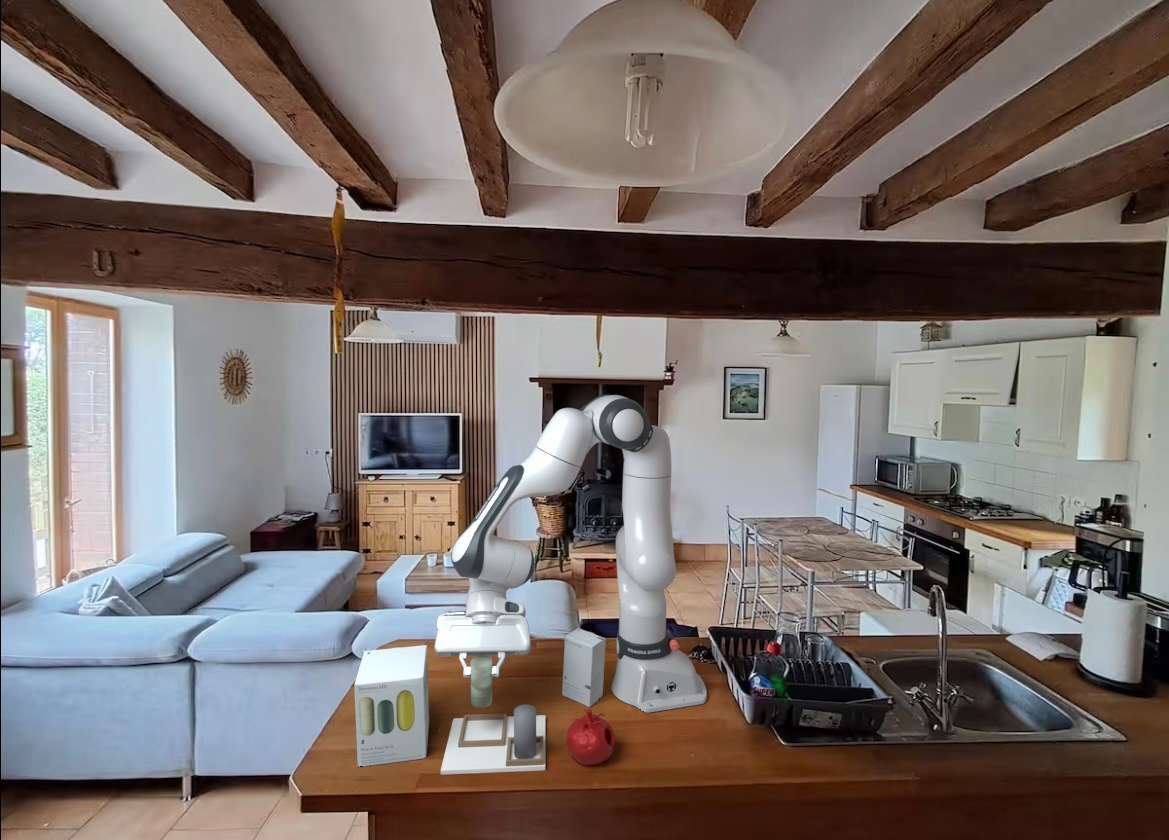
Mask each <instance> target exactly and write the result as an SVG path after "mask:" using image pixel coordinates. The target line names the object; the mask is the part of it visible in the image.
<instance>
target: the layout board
mask: <svg viewBox="0 0 1169 840" xmlns="http://www.w3.org/2000/svg"><path fill="white" fill-rule="evenodd" d="M448 735H449V736H448V740H447V744H446V748H445V752H444V755H443V759H442V763H441V768H440V775H442V776H443V775H461V774H464V775H465V774H486V773H487V774H488V773H509V772H510V773H511V772H533V771H534V772H536V771H539V772H540V771H546V715H543V714H541V715H537V709H536V707H535V706H534V705H532V704H527V703H525V704H521V705H518V706H516V707H515V708H514V710H513V715H512V716H511V715H509V716H508V713H486V714H485V713H483V714H482V713H480V714H464V715H463V717H459V718H458V717H457V718H453V720H452V723H451V727H450V731H449V734H448Z"/></svg>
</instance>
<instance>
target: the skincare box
mask: <svg viewBox="0 0 1169 840" xmlns="http://www.w3.org/2000/svg"><path fill="white" fill-rule="evenodd" d="M606 643H607V639H606V637H604V636H603V637H602V636H600V635H597V634H595V633H594V632H592V631H587V630H584V629H582V628H576V629H574V630H573V631H571V632H569V633H568V634H566V635H564V649H563V652H564V653H563V654H564V655H563V666H562V667H563V671H562V688H561V689H562V691H561V694H562V696H563V697H565V698H567V699H570V700H572V701H575V702H578V703H579V704H582V705H584V706H586V707H588V708H590V707H591V706H593V705H594V704H596V702H598V701H599V700H600V699H601V698H602V697H603V696H604V695H603V694H604V676H605V662H606V661H605V658H606V657H605V656H606ZM602 695H603V696H602ZM601 696H602V697H601ZM599 698H600V699H599ZM598 699H599V700H598Z"/></svg>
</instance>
